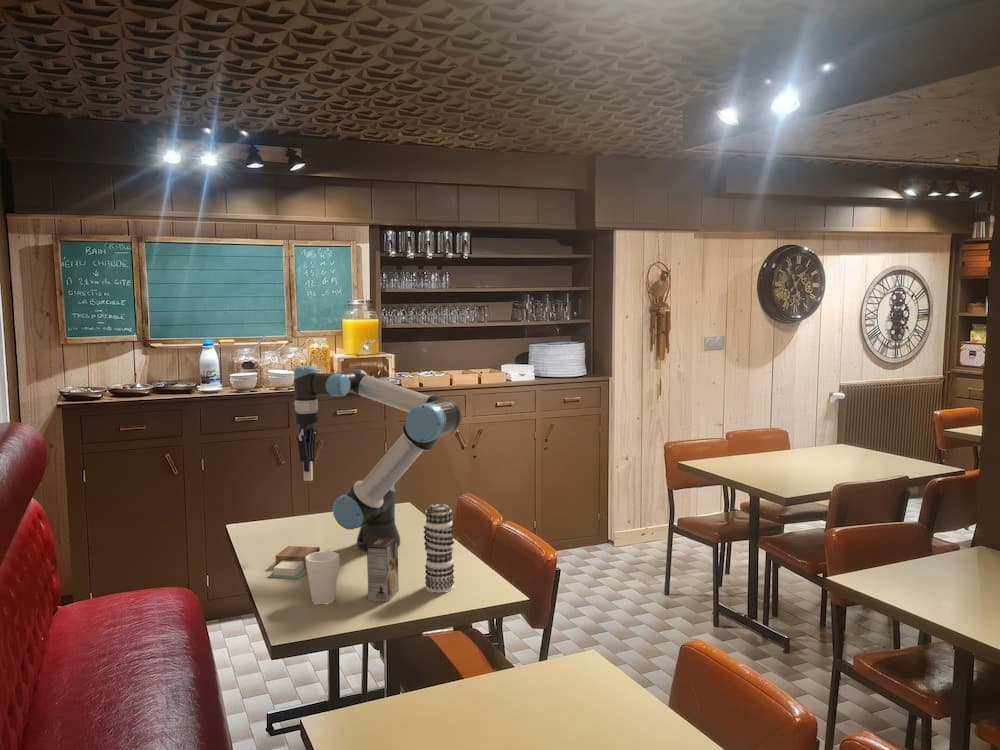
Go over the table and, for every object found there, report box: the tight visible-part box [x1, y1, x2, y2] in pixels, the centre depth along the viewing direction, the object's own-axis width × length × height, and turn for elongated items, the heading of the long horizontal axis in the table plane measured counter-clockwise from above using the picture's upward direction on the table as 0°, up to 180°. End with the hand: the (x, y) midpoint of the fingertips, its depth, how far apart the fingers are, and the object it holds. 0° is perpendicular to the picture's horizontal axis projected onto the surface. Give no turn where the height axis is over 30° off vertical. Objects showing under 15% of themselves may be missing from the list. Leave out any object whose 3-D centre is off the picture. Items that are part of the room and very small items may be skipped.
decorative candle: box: [423, 503, 456, 594], centre depth 229 cm, size 9×9×25 cm
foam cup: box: [306, 550, 340, 605], centre depth 220 cm, size 10×9×13 cm
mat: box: [268, 568, 307, 579], centre depth 242 cm, size 10×8×1 cm
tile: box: [273, 561, 304, 576], centre depth 243 cm, size 7×7×2 cm
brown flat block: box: [275, 545, 321, 569], centre depth 251 cm, size 11×10×4 cm
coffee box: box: [366, 537, 400, 602], centre depth 223 cm, size 9×6×16 cm
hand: (308, 480), depth 263 cm, fingers closed
